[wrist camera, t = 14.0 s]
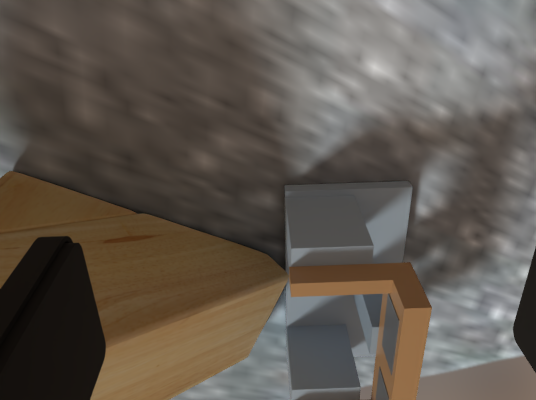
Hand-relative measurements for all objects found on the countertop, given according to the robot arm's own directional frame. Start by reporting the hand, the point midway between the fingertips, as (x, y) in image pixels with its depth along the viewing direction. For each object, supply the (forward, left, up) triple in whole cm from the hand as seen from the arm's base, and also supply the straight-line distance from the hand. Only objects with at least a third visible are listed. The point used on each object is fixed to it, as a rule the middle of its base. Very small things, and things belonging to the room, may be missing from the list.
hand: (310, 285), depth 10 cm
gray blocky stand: (-6, +23, -30) cm, 39 cm away
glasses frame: (-5, +23, -21) cm, 32 cm away
